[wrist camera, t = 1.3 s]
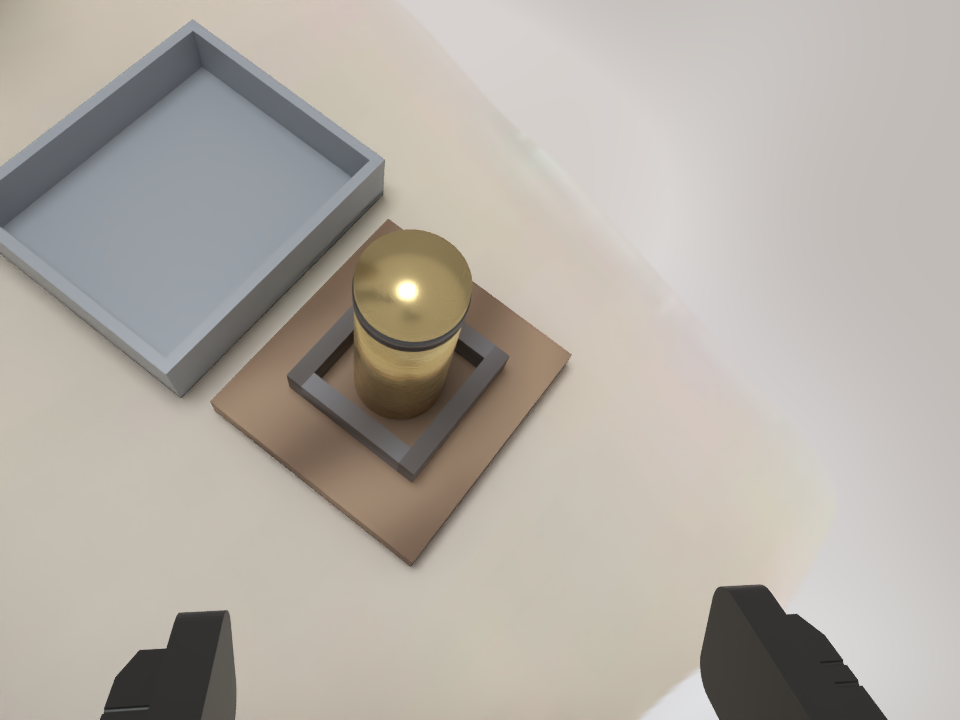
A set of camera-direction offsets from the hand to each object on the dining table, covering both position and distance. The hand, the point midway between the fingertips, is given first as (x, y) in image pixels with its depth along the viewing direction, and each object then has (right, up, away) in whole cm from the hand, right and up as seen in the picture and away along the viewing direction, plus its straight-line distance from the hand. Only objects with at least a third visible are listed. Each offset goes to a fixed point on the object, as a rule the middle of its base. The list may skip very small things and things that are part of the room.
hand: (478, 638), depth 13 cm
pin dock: (-4, +3, +24) cm, 24 cm away
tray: (-14, +12, +25) cm, 31 cm away
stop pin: (-4, +4, +22) cm, 23 cm away
